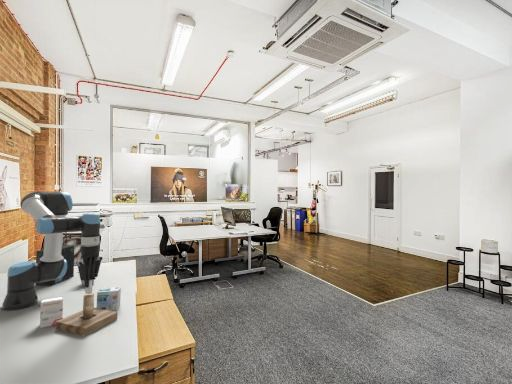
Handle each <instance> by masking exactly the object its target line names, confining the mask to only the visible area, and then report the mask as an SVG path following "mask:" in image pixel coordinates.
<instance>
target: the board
mask: <svg viewBox="0 0 512 384" xmlns="http://www.w3.org/2000/svg"><path fill="white" fill-rule="evenodd" d="M116 320H118V311H110V310H104V309H99V308H97V307H94V312H93V317H92V318H90V319H88V320H85V319H83V309H82V310H79V311H78V312H75V313H73V314H71V315H68V316H65V317H63V319H61V320H58V321H56V325H55V330H56V331H57V330H58V331H62V332H66V331H67V332H66V333H70V332H71V334H75V335H79V336H83V337H86V336H88V335H89V334H91V333H93V332H95V331H97V330H99V329H100V328H103V327H105V326H106V325H108V324H110V323H113V322H114V321H116Z"/></svg>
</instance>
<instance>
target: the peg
mask: <svg viewBox="0 0 512 384" xmlns="http://www.w3.org/2000/svg"><path fill="white" fill-rule="evenodd" d="M94 306H95V293H93V292H92V294H84V295H83V304H82V310H83V319H85V320H88V319H90V318H92V317H93V312H94V308H95V307H94Z"/></svg>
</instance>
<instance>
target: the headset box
mask: <svg viewBox="0 0 512 384" xmlns="http://www.w3.org/2000/svg"><path fill="white" fill-rule="evenodd" d="M35 254H36V256H35V258H36V261H35V262H36V263H39V262H40V258H41V257H43V254H44V248H43V249H40V250H36V253H35ZM61 255H62V256H63V257H64V259H65V260H66V261H67V270H66V273H65V275H64V276H63V277H62V278H60V279H56V280H51V281H45V282H40V283H35V285H34V286H42V287H43V286H46V287H53V286H55V285H57V284H59V283H62V282H64V281H67V280H68V279H71V278H73V277H74V271H75V245H73V244H71V245H67V244H62V249H61Z"/></svg>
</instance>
